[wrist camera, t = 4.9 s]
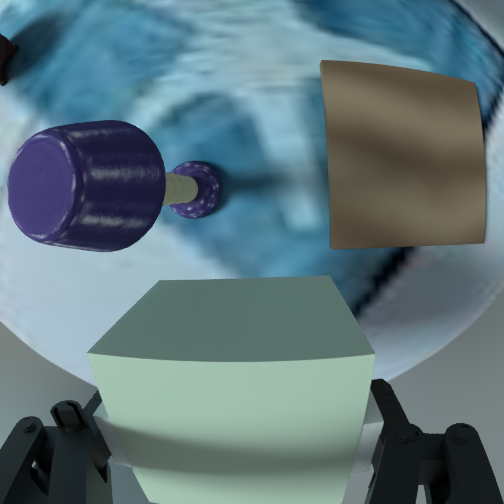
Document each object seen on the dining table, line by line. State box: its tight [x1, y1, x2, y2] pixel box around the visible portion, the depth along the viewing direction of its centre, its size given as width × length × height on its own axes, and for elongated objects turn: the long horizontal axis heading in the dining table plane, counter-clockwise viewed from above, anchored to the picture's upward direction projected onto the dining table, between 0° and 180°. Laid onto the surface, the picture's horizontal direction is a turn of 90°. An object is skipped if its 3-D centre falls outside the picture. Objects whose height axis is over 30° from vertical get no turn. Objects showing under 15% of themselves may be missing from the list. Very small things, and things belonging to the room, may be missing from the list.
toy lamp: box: [7, 120, 221, 252], centre depth 14 cm, size 5×5×17 cm
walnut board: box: [320, 60, 486, 249], centre depth 21 cm, size 14×14×1 cm
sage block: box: [87, 275, 375, 504], centre depth 12 cm, size 8×8×7 cm
